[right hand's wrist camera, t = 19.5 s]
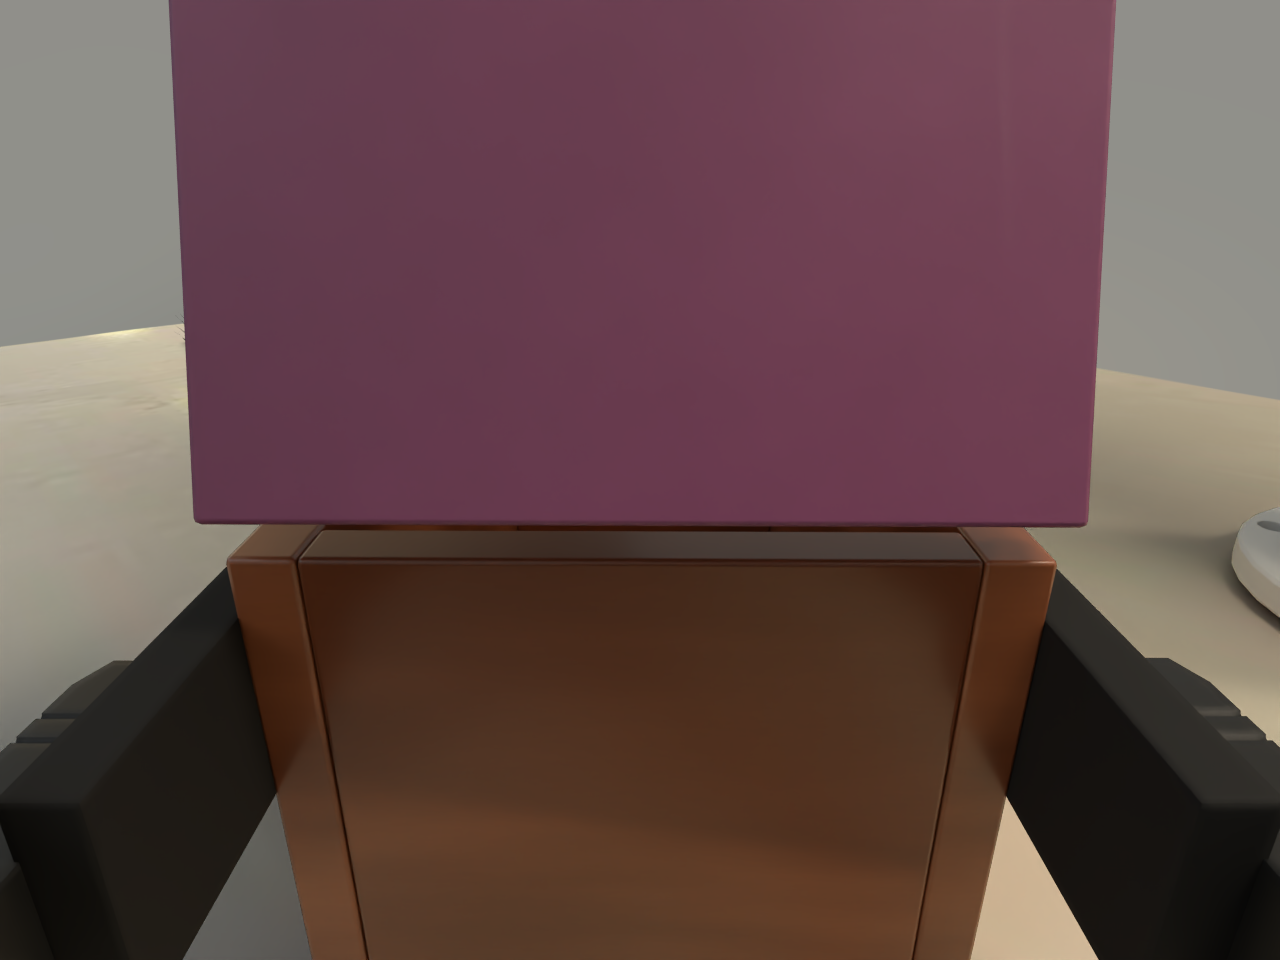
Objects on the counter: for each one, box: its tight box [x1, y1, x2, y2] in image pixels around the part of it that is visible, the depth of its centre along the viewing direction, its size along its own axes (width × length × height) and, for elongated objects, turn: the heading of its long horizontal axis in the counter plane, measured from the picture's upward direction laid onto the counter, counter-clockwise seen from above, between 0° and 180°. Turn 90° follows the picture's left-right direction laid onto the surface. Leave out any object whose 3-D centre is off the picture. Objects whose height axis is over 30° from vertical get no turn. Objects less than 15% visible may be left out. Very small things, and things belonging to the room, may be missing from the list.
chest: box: [226, 524, 1057, 960], centre depth 19 cm, size 16×10×9 cm, turn 0°
